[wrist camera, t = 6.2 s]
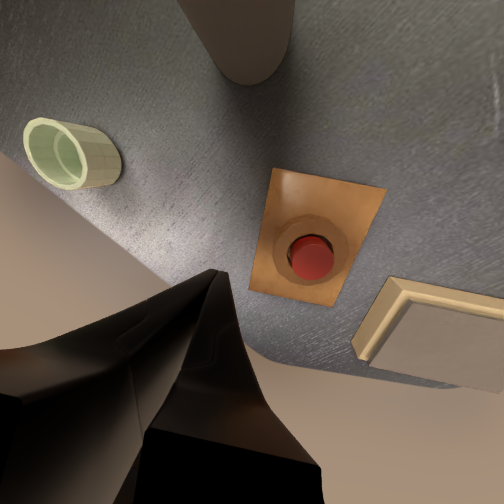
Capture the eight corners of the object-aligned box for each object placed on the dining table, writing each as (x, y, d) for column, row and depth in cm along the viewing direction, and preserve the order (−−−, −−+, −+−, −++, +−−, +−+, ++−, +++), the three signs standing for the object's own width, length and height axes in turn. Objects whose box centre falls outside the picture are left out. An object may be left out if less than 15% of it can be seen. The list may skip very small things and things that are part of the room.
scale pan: (492, 388, 21) (498, 394, 20) (366, 361, 21) (368, 366, 21) (566, 330, 17) (575, 336, 16) (409, 298, 17) (413, 303, 17)
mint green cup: (127, 189, 19) (92, 195, 15) (81, 180, 19) (35, 183, 15) (121, 133, 17) (78, 124, 13) (69, 123, 17) (13, 112, 13)
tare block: (327, 296, 21) (337, 319, 18) (250, 280, 22) (246, 299, 19) (375, 186, 16) (400, 192, 13) (273, 167, 16) (272, 168, 13)
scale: (469, 367, 24) (488, 387, 21) (350, 341, 24) (357, 359, 22) (535, 305, 19) (568, 323, 17) (388, 275, 20) (402, 289, 17)
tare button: (321, 272, 17) (326, 284, 15) (286, 265, 17) (287, 275, 15) (334, 240, 15) (341, 248, 14) (295, 232, 16) (298, 240, 14)
